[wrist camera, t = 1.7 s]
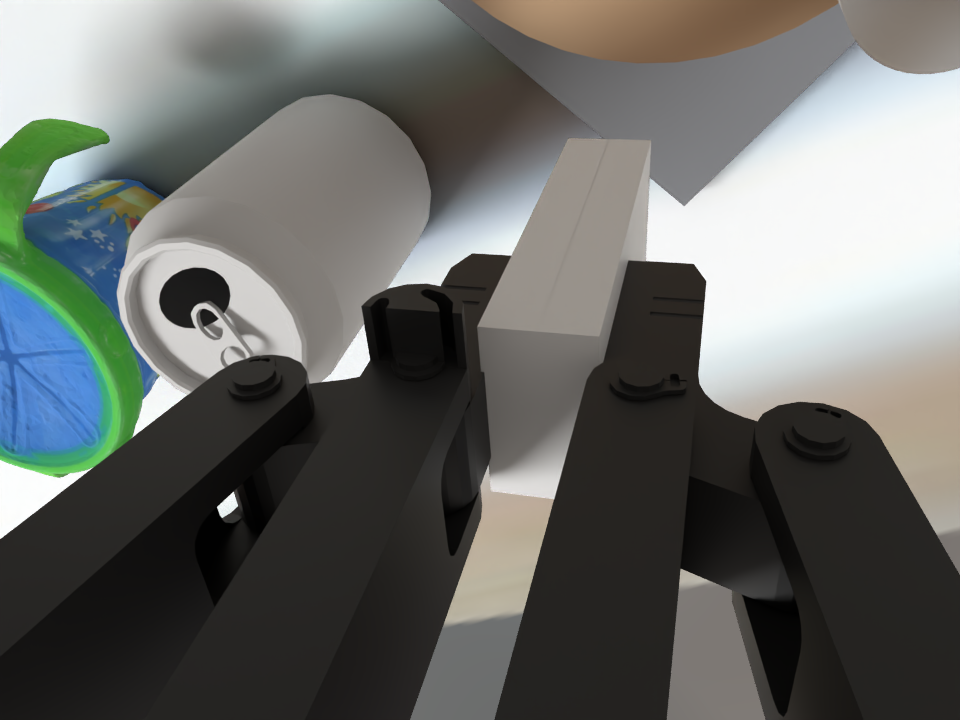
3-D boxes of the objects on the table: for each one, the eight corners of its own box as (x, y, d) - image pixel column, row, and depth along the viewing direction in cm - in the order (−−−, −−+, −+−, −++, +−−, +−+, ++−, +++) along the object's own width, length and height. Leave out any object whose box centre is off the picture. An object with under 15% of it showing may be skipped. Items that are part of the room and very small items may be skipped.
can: (355, 48, 32) (192, 173, 23) (473, 205, 35) (372, 378, 25) (231, 150, 36) (47, 294, 26) (346, 285, 38) (217, 460, 29)
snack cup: (37, 44, 35) (-172, 130, 27) (271, 141, 35) (132, 256, 27) (43, 329, 45) (-110, 455, 37) (228, 406, 45) (115, 549, 37)
